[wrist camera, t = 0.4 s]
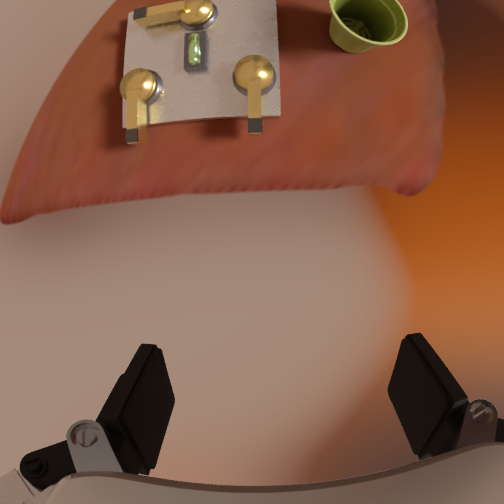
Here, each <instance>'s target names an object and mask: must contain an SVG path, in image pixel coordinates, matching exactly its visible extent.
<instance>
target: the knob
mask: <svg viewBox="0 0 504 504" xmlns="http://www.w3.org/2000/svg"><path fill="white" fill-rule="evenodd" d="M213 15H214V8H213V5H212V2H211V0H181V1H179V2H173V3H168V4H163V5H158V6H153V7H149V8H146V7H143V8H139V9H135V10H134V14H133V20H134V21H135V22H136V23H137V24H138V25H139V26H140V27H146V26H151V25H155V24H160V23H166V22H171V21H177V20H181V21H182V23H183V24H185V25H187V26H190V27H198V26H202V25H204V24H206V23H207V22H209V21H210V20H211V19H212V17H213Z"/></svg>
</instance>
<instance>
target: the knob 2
mask: <svg viewBox="0 0 504 504" xmlns="http://www.w3.org/2000/svg"><path fill="white" fill-rule="evenodd" d="M234 75H235V78H236V81H237V84H238V85H239V86H240V88H242V89H243V90H245V91H247V92H248V133H249V135H250V136H258V135H262V117H261V92H262V91H264V90H266V89H267V88H268V87H269V86H270V85H271V83H272V80H273V75H274V69H273V66H272V64H271V62H270V61H269V60H268V59H266V58H265V57H263V56H260V55H248V56H245V57H243V58H242V59H240V60H239V61H238V63H237V64H236V66H235V69H234Z"/></svg>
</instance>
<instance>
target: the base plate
mask: <svg viewBox="0 0 504 504" xmlns="http://www.w3.org/2000/svg"><path fill="white" fill-rule="evenodd" d="M211 2H212V5H213V8H214V15H213V17H212V19H211V20H210V21H209V22H207V23H206V24H204V25H202V26H198V27H190V26H187V25H185V24H183V23H182V21H181V20H177V21H171V22H166V23H160V24H155V25H151V26H146V27H140V26H139V25H138V24H137V23H136V22H135V21H134V20H133V14H134V11H133V12H130V13H129V15H128V24H127V33H126V44H125V57H124V74H123V77H124V76H125V75H126V74H127V73H128V72H129V71H131V70H133V69H136V68H144V69H146V70H148V71H149V72H151V73H152V74H153V75H155V77H156V78H157V81H158V88H157V91H156V93H155V95H154V96H153V97H152V98H151V99H150V100H149V101H147V126H154V125H162V124H170V123H179V122H190V121H201V120H215V119H235V118H248V92H247V91H245V90H243V89H242V88H240V86H239V85H238V84H237V81H236V78H235V75H234V69H235V66H236V64H237V63H238V61H239V60H240V59H242V58H243V57H245V56H248V55H260V56H263V57H265V58H266V59H268V60H269V61H270V62H271V64H272V66H273V69H274V75H273V80H272V83H271V85H270V86H269V87H268V88H267V89H266V90H264V91H262V92H261V117H262V118H280V116H281V109H280V76H279V50H278V29H277V11H276V0H211ZM123 128H124V129H127V100H125V99H124V98H123Z"/></svg>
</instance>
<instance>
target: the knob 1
mask: <svg viewBox="0 0 504 504" xmlns="http://www.w3.org/2000/svg"><path fill="white" fill-rule="evenodd" d="M157 88H158V81H157V78H156V77H155V75H153V74H152V73H151V72H149V71H148V70H146V69H144V68H136V69H133V70H131V71H129V72H128V73H127V74H126V75H125V76H124V77H123V78H122V80H121V83H120V93H121V96H122V97H123V98H124V99H125V100H127V130H125V139H126V143H127V144H145V143H147V101H149V100H150V99H151V98H152V97H153V96H154V95H155V93H156V91H157Z"/></svg>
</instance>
